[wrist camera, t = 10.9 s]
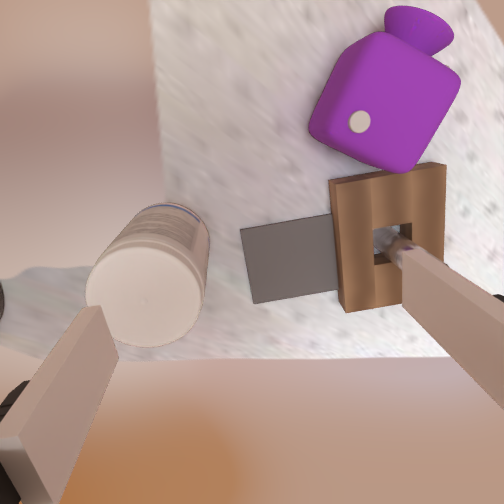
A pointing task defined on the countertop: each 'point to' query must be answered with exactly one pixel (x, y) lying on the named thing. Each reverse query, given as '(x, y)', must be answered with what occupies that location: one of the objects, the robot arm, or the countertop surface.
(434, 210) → the socket block
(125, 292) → the supplement tub
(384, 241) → the peg
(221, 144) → the countertop surface
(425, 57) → the toy camera
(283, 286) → the mat
